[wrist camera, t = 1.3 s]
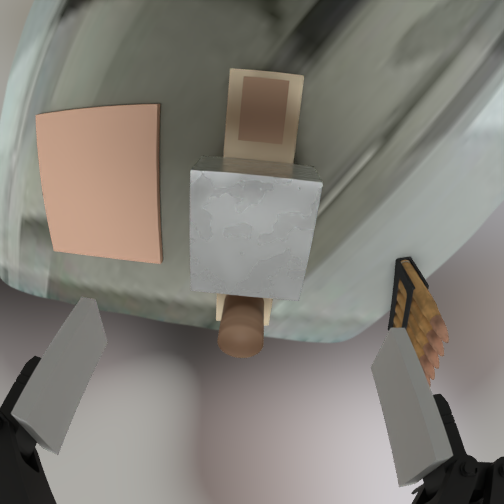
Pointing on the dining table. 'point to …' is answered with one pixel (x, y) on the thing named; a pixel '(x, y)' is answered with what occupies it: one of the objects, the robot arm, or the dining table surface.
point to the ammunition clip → (417, 315)
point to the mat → (102, 180)
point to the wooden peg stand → (257, 148)
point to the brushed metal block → (251, 226)
